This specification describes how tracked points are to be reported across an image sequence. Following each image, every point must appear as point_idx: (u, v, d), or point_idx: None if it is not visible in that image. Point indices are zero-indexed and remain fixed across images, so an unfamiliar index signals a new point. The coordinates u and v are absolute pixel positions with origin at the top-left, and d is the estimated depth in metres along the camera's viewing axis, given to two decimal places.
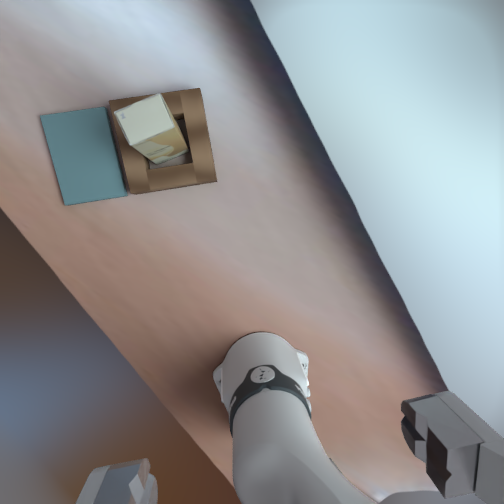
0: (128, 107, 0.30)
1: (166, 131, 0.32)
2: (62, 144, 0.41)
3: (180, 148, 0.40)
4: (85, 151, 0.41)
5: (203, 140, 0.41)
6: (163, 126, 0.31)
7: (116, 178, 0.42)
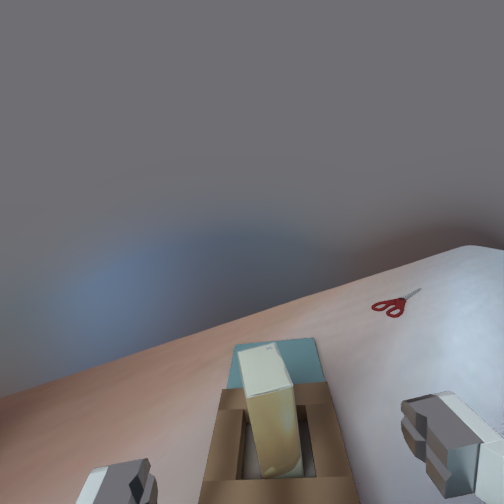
0: (278, 353, 0.26)
1: None
2: (288, 348, 0.43)
3: None
4: None
5: None
6: (250, 385, 0.22)
7: None
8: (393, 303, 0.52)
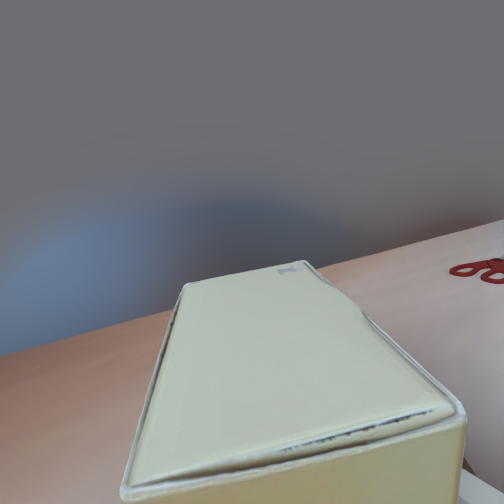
0: (321, 281, 0.07)
1: (145, 421, 0.04)
2: None
3: None
4: None
5: None
6: (180, 396, 0.04)
7: None
8: (486, 265, 0.32)
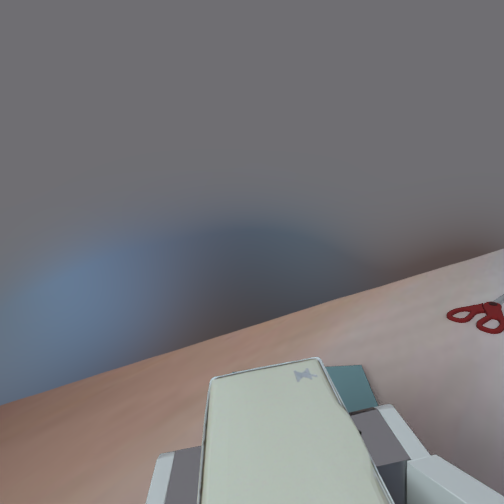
0: (334, 397, 0.08)
1: None
2: None
3: None
4: None
5: None
6: None
7: None
8: (482, 310, 0.33)
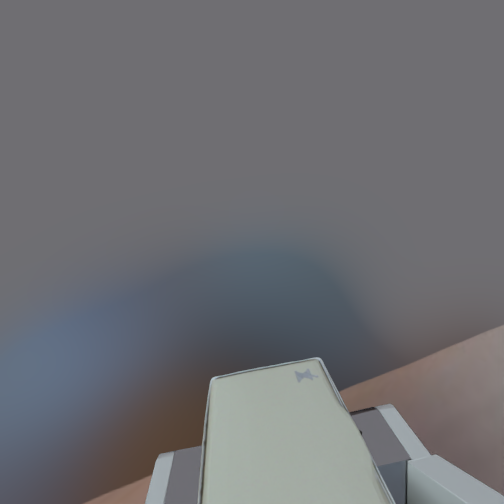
0: (335, 398, 0.08)
1: None
2: None
3: None
4: None
5: None
6: None
7: None
8: None
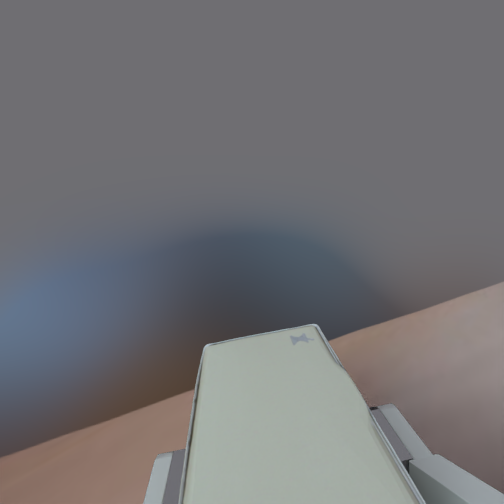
0: (331, 357, 0.08)
1: None
2: None
3: None
4: None
5: None
6: (209, 502, 0.05)
7: None
8: None
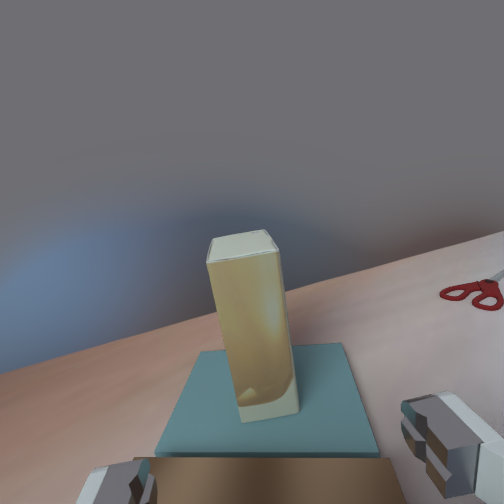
0: (266, 234, 0.18)
1: (207, 260, 0.15)
2: None
3: None
4: None
5: None
6: (216, 254, 0.15)
7: (200, 440, 0.17)
8: (477, 288, 0.30)
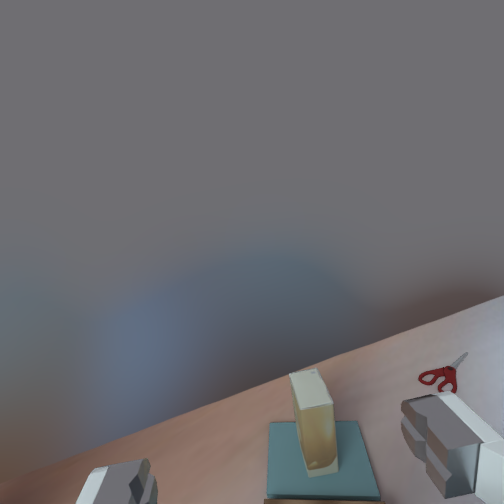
0: (320, 377, 0.35)
1: (297, 403, 0.32)
2: None
3: (304, 452, 0.34)
4: None
5: None
6: (301, 400, 0.32)
7: (289, 487, 0.33)
8: (442, 374, 0.47)
